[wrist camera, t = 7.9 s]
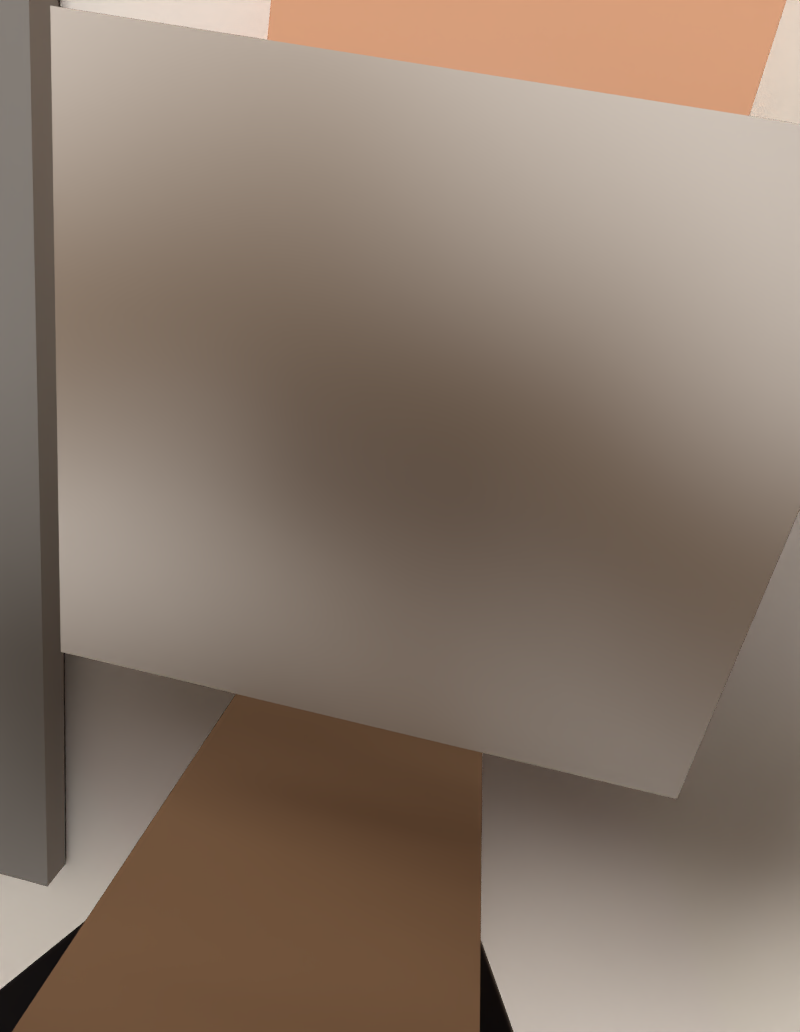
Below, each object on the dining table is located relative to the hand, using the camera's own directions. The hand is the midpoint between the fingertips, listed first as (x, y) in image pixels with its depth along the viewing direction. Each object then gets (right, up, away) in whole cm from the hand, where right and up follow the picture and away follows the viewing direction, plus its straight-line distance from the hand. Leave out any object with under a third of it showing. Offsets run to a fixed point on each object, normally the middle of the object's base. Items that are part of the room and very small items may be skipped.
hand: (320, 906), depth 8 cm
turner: (0, +1, +1) cm, 2 cm away
